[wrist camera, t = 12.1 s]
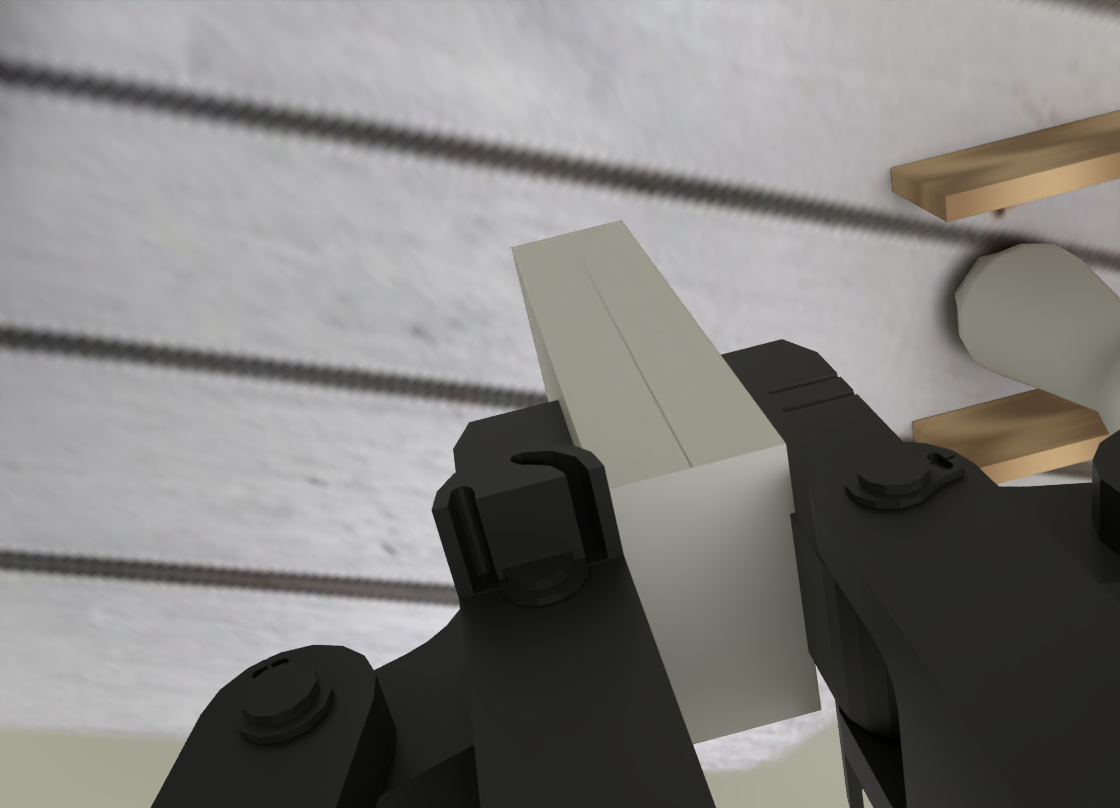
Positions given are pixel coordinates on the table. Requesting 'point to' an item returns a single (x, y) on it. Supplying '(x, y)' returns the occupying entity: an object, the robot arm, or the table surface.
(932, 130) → the table surface
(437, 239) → the table surface
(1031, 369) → the salt shaker
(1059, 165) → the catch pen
